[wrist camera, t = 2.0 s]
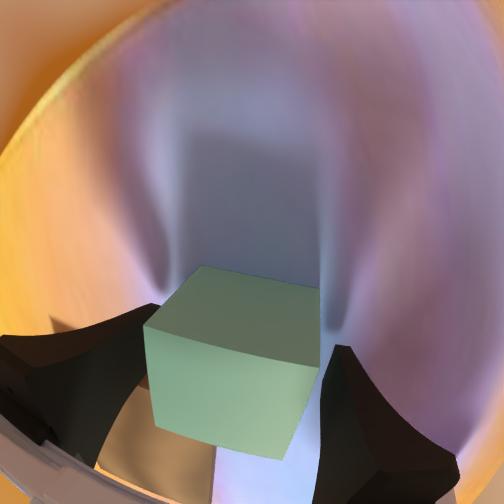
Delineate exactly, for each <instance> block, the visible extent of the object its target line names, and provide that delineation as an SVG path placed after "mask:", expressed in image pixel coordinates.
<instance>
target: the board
mask: <svg viewBox="0 0 504 504" xmlns="http://www.w3.org/2000/svg"><path fill="white" fill-rule="evenodd" d="M216 448H217V446H215V445H211V444H208V443H204V442H201V441H198V440H195V439H191V438H188V437H185V436H182V435H179V434H176V433H173V432H171V431H168V430H165V429H162V428H160V427H157V426H155V421H154V415H153V408H152V402H151V395H150V388H149V380H148V373H147V374H146V375H145V376H144V378H143V379H142V380H141V382H140V383H139V384H138V386H137V387H136V388H135V390H134V391H133V392H132V394H131V395H130V396H129V398H128V399H127V401H126V402H125V404H124V406H123V407H122V409H121V411H120V413H119V414H118V416H117V418H116V420H115V422H114V424H113V426H112V428H111V430H110V432H109V434H108V436H107V438H106V440H105V442H104V445H103V447H102V449H101V451H100V454H99V456H98V459H97V463H98V464H99V466H100V468H101V469H103V470H105V471H107V472H109V473H110V474H112V475H114V476H116V477H119V478H121V479H123V480H125V481H127V482H129V483H131V484H133V485H136V486H138V487H140V488H143V489H145V490H147V491H150V492H152V493H155V494H157V495H160V496H163V497H165V498H168V499H171V500H174V501H176V502H179V503H182V504H211V502H212V491H213V480H214V469H215V458H216Z"/></svg>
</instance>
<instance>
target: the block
mask: <svg viewBox="0 0 504 504" xmlns="http://www.w3.org/2000/svg"><path fill="white" fill-rule="evenodd" d="M143 330H144V342H145V353H146V363H147V372H148V380H149V388H150V395H151V402H152V408H153V415H154V421H155V426H157V427H160V428H162V429H165V430H168V431H171V432H173V433H176V434H179V435H182V436H185V437H188V438H191V439H195V440H198V441H201V442H204V443H208V444H211V445H215V446H218V447H222V448H226V449H230V450H234V451H238V452H242V453H247V454H251V455H256V456H261V457H266V458H271V459H277V460H283V458H284V455H285V453H286V451H287V449H288V447H289V444H290V442H291V440H292V438H293V435H294V433H295V431H296V428H297V426H298V424H299V421H300V419H301V416H302V414H303V411H304V409H305V406H306V404H307V401H308V399H309V396H310V394H311V391H312V388H313V386H314V383H315V380H316V378H317V375H318V372H319V369H320V289H317V288H312V287H307V286H302V285H297V284H291V283H286V282H281V281H276V280H271V279H266V278H261V277H256V276H251V275H246V274H241V273H236V272H232V271H227V270H222V269H217V268H213V267H208V266H203V265H201V266H200V267H199V268H198V269H197V270H196V271H195V272H194V273H193V274H192V275H191V276H190V277H189V278H188V279H187V280H186V281H185V282H184V283H183V284H182V285H181V287H180V288H179V289H178V290H177V291H176V292H175V293H174V294H173V295H172V296H171V297H170V298H169V299H168V300H167V301H166V302H165V303H164V304H163V305H162V306H161V307H160V308H159V309H158V310H157V311H156V312H155V313H154V314H153V315H152V316H151V317H150V318H149V319H148V321H147V322H146V323H145V324H144V325H143Z"/></svg>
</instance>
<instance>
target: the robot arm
mask: <svg viewBox="0 0 504 504" xmlns="http://www.w3.org/2000/svg"><path fill="white" fill-rule="evenodd" d="M160 307H161V306H160V305H157V304H153V303H150V304H146V305H144V306H141V307H139V308H136V309H134V310H131V311H129V312H127V313H124V314H122V315H119V316H117V317H114V318H112V319H109V320H106V321H103V322H101V323H98V324H95V325H92V326H89V327H85V328H82V329H77V330H73V331H69V332H63V333H56V334H50V335H37V336H16V335H2V336H1V337H0V472H1V473H2V474H3V475H4V476H5V477H6V478H7V479H9V480H10V481H11V482H12V483H13V484H14V485H15V486H16V487H18V488H19V489H20V490H21V491H22V492H23V493H24V494H26V495H27V496H28V497H29V498H30V499H32V500H31V502H30V503H29V504H169V503H166V502H164V501H161V500H158V499H156V498H153V497H151V496H148V495H146V494H144V493H141V492H139V491H137V490H134V489H132V488H130V487H128V486H126V485H123V484H121V483H119V482H117V481H115V480H113V479H111V478H109V477H107V476H105V475H103V474H102V473H100V472H98V471H96V470H94V467H95V464H96V461H97V459H98V456H99V454H100V451H101V449H102V447H103V445H104V442H105V440H106V438H107V436H108V434H109V432H110V430H111V428H112V426H113V424H114V422H115V420H116V418H117V416H118V414H119V413H120V411H121V409H122V407H123V406H124V404H125V402H126V401H127V399H128V398H129V396H130V395H131V394H132V392H133V391H134V390H135V388H136V387H137V386H138V384H139V383H140V382H141V380H142V379H143V378H144V376H145V375H146V374H147V363H146V353H145V342H144V330H143V325H144V324H145V323H146V322H147V321H148V319H149V318H150V317H151V316H152V315H153V314H154V313H155V312H156V311H157V310H158V309H159V308H160ZM320 439H321V446H320V459H319V466H318V473H317V479H316V485H315V491H314V496H313V500H312V504H457V503H456V498H455V493H454V488H453V487H454V486H456V484H457V483H458V481H459V479H460V473H459V469H458V465H457V461H456V458H455V455H454V454H452V453H450V452H449V451H447V450H445V449H443V448H442V447H440V446H438V445H436V444H435V443H433V442H432V441H430V440H429V439H428V438H426V437H425V436H423V435H422V434H421V433H419V432H418V431H417V430H416V429H414V428H413V427H412V426H411V425H410V424H409V423H408V422H407V421H405V420H404V419H403V418H402V417H401V416H400V415H399V414H398V413H397V412H396V411H395V410H394V408H393V407H392V406H391V405H390V404H389V403H388V402H387V401H386V399H385V398H384V397H383V396H382V394H381V393H380V392H379V390H378V389H377V388H376V386H375V385H374V384H373V382H372V381H371V379H370V378H369V376H368V375H367V373H366V372H365V370H364V369H363V367H362V365H361V364H360V362H359V360H358V359H357V357H356V355H355V354H354V352H353V350H352V349H351V347H350V346H343V345H337V344H336V345H335V348H334V350H333V353H332V356H331V359H330V362H329V364H328V367H327V370H326V372H325V375H324V378H323V380H322V388H321V397H320Z"/></svg>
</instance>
